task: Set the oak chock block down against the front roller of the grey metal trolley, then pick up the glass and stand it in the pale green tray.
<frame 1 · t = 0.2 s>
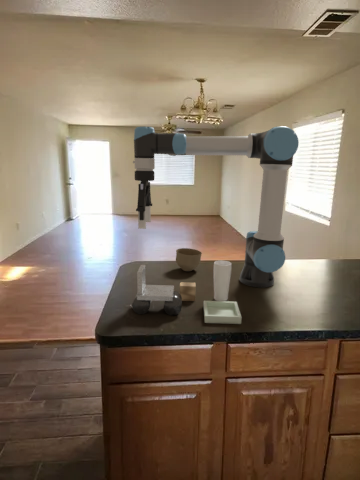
hand: (144, 225, 124), 27 cm above the countertop, fingers open, 13 cm apart
chock: (187, 298, 123), on the countertop
bowl: (188, 270, 156), on the countertop
tray: (221, 314, 110), on the countertop
drinking glass: (220, 300, 123), on the countertop
trolley: (156, 310, 113), on the countertop
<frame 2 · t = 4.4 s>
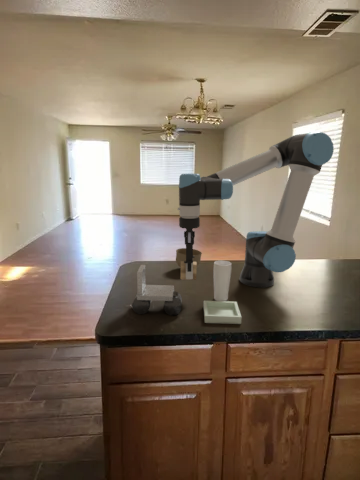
hand: (189, 276, 121), 9 cm above the countertop, fingers closed on chock, 4 cm apart
chock: (188, 277, 121), point 8 cm above the countertop, touching gripper
everything else where it was.
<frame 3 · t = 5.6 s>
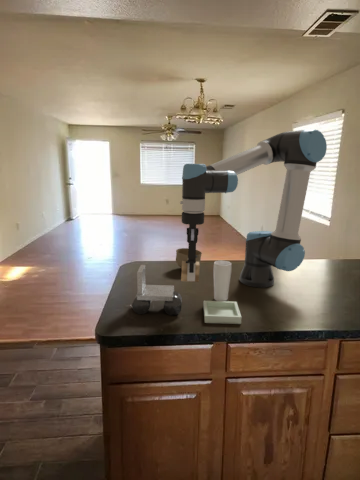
hand: (191, 278, 110), 13 cm above the countertop, fingers closed on chock, 4 cm apart
chock: (189, 279, 110), point 12 cm above the countertop, touching gripper
everything else where it was.
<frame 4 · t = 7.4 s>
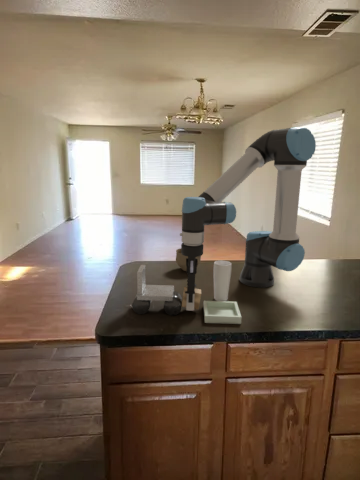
hand: (190, 306, 112), 2 cm above the countertop, fingers closed on chock, 4 cm apart
chock: (189, 305, 112), point 2 cm above the countertop, tilted 8°, touching gripper
everything else where it was.
when the fingers open (0 cm above the countertop, at t = 9.1 s): chock stays where it is, on the countertop.
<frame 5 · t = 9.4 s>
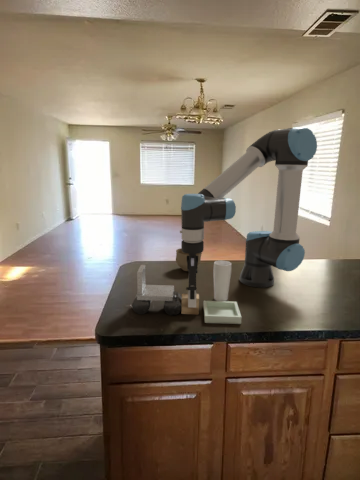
hand: (192, 298, 111), 5 cm above the countertop, fingers open, 13 cm apart
chock: (189, 311, 112), on the countertop
everything else where it was.
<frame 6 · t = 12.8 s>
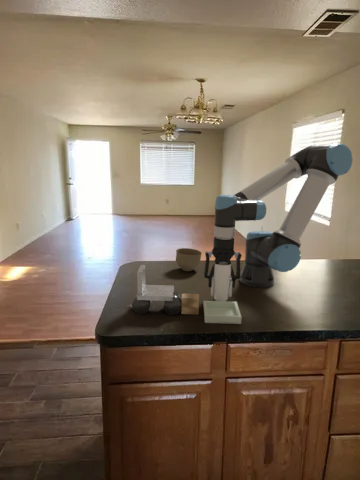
hand: (221, 294, 122), 2 cm above the countertop, fingers closed on drinking glass, 6 cm apart
drinking glass: (220, 300, 123), on the countertop, touching gripper
everything else where it was.
when the fingers open (4 cm above the countertop, at t = 17.9 s): drinking glass drops 1 cm, resting on tray.
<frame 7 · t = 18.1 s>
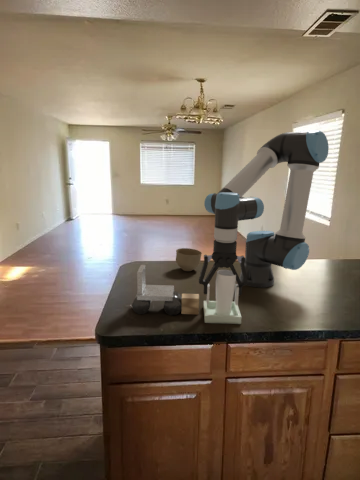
hand: (221, 303, 109), 5 cm above the countertop, fingers open, 9 cm apart
drinking glass: (222, 313, 110), resting on tray
everything else where it was.
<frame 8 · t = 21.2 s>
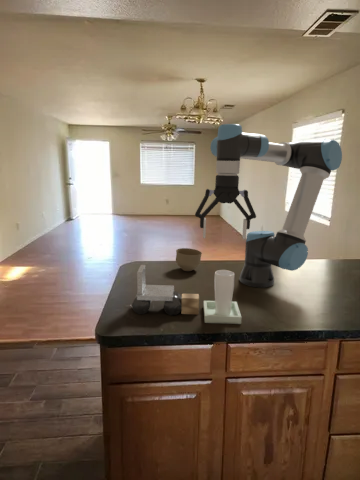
hand: (224, 238, 108), 27 cm above the countertop, fingers open, 13 cm apart
nothing on the countertop moved.
at the end: chock 0.1 cm from the target spot, on the countertop; drinking glass inside the target area on the tray (0.5 cm from its centre), point 0.3 cm above the tray's base; drinking glass tilted 1° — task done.
